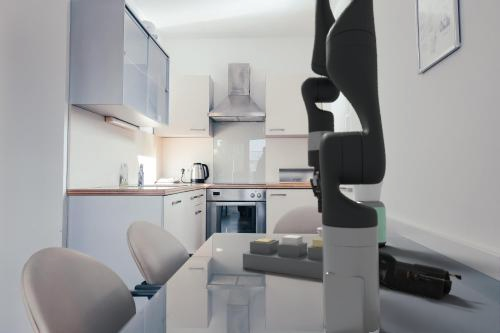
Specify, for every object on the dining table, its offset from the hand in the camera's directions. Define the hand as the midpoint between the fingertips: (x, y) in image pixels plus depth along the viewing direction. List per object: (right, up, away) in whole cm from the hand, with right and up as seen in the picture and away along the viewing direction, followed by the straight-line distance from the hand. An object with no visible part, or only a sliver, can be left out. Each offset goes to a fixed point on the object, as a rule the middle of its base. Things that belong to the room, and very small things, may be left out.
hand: (322, 212), depth 93 cm
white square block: (-8, -11, +4) cm, 14 cm away
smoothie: (+5, -17, +15) cm, 23 cm away
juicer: (+26, -18, +37) cm, 49 cm away
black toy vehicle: (+15, -16, -13) cm, 25 cm away
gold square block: (-15, -13, +8) cm, 22 cm away
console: (-8, -16, +4) cm, 18 cm away
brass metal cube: (0, -10, -1) cm, 10 cm away
